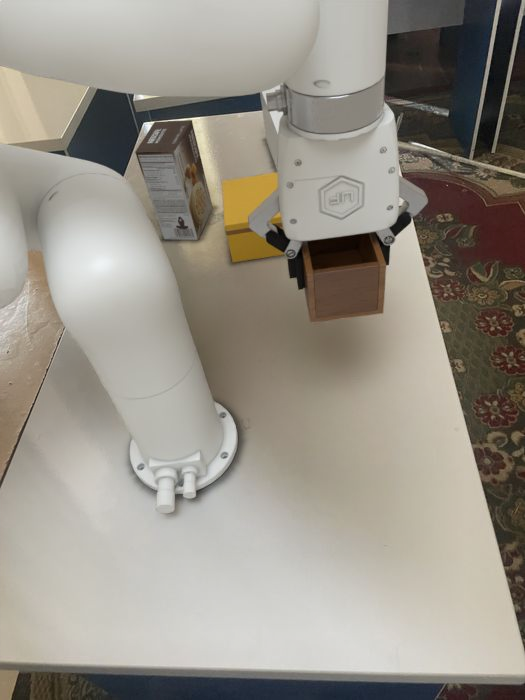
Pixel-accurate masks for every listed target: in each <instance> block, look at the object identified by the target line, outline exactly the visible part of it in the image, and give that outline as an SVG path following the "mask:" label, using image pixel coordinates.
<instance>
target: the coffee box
mask: <svg viewBox="0 0 525 700" xmlns="http://www.w3.org/2000/svg"><path fill="white" fill-rule="evenodd" d="M134 153H135V156H136V159H137V162H138V165H139V168H140V171H141V174H142V177H143V180H144V184H145V187H146V189H147V192H148V195H149V198H150V201H151V204H152V207H153V210H154V214H155V216H156V220H157V222H158V225H159V229H160V231H161V232H160V233H161V235H162V238H163V239H164V240H170V241H171V240H172V241H175V240H176V241H198V240H200V237H201V236H202V233H203V231H204V229H205V226H206V225H207V222H208V220H209V217H210V215H211V212H212V211H213V208H214V207H213V204H212V199H211V195H210V194H211V193H210V191H209V187H208V182H207V177H206V173H205V170H204V169H205V168H204V165H203V161H202V157H201V152H200V149H199V144H198V140H197V136H196V132H195V128H194V124H193V120H192V119H187V120H186V119H185V120H167V121H154V122H153V123H152V125H151V126H150V128H149V130H148V131H147V133H146V135H144V138H143V139H142V141H141V143H139V145H138V147H137V148H136V150H135V152H134Z"/></svg>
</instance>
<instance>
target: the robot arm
mask: <svg viewBox="0 0 525 700" xmlns="http://www.w3.org/2000/svg"><path fill="white" fill-rule="evenodd" d="M388 18H389V0H0V67H3V68H7V69H10V70H13V71H17V72H20V73H23V74H26V75H31V76H33V77H39V78H44V79H50V80H55V81H59V82H60V81H61V82H65V83H71V84H75V85H80V86H85V87H90V88H93V89H99V90H104V91H109V92H114V93H120V94H121V93H122V94H130V95H137V96H149V97H167V98H168V97H169V98H171V97H172V98H173V97H177V98H178V97H181V98H183V97H184V98H185V97H187V98H190V97H191V98H194V97H196V98H197V97H199V98H200V97H201V98H202V97H205V98H209V97H210V98H213V97H217V98H218V97H219V98H221V97H225V98H226V97H242V96H249V95H256V94H260V92H263V91H267V90H270V89H272V88H274V87H276V86H278V85H280V84H282V83H283V84H282V85H280V89H278V90H275V92H271V93H266V99H267V107H268V112H271V111H277V110H278V112H283V115H282V117H281V119H280V122H279V130H278V141H277V143H278V145H277V169H276V172H277V182H278V188H277V189H276V190H275V191H274V192H273V193H272V194H271V195H270V196H268V197H267V198H266V199H265V200H264V201H263V202H262V203H261V204H260V205H259V206H258V207H257V208H256V209H255V210H254V211H253V212H252V213H251V214H250V215H249V216H248V225H249V228H250V229H251V230H252V231H254V232H255V233H256V234H258V235H259V236H261V237H263V238H264V239H266V241H267V243H268V244H270V245H272V246H273V247H275V248H277V249H278V250H280V251H281V252H283V253H284V255H283V256H284V258H286V261H287V269H288V277H289V279H296V284H297V290H298V291H302V290H304V288H305V280H304V267H303V257H302V252H301V246H302V244H303V242H304V241H312V240H320V239H328V238H335V237H343V236H350V235H357V234H364V233H371V232H375V233H376V236H377V239H378V242H379V245H380V248H381V251H382V254H383V257H384V260H385V263H386V267H388V266H390V257H391V256H390V255H391V246H392V245H393V244H394V243H395V242H396V237H397V236H398V235H399V234H400V233H402V232H403V230H405V229H406V228H407V227H409V225H410V224H411V223H412V219H413V218H414V217H416V216H417V215H418V214H419V213H420V212H421V211H422V210H423V209H424V208H425V207H426V206H427V204H428V203H429V199H428V197H427V195H426V192H425V191H424V190H423V189H422V188H420V187H418V186H417V185H415V184H414V183H412V182H410V181H409V180H407V179H406V178H404V177H403V176H401V175H400V159H399V158H400V157H399V141H398V132H397V131H398V129H397V123H396V118H395V114H394V113H395V112H393V110H392V109H391V107H390V106H389V105H388V104H387V103H386V102H385V92H386V91H385V90H386V89H385V87H386V67H387V64H386V63H387V42H388V22H389V21H388V20H389V19H388ZM400 199H402V200H403V202H402V204H401V205H400ZM278 212H280V215H281V221H282V226H283V229H284V230H283V229H282V228H280V227H278V226H277V225H275V224H271V223H270V220H271V219H272V218H273V217H274V216H275V215H276V214H277V213H278ZM29 251H35V252H41V256H42V257H41V258H42V261H43V262H42V263H43V266H44V269H45V270H44V272H45V277H46V280H47V281H46V282H47V285H48V288H49V289H48V290H49V292H50V296H51V300H52V302H53V305H54V308H55V310H56V313H57V314H58V317H59V319H60V320H61V322H62V324H63V326H64V328H65V329H66V331H67V333H69V335H70V336H71V337H72V338H73V340H74V341H75V342H76V343H77V345H78V347H79V348H80V349H81V350H82V352H83V353H84V355H85V357H86V359H88V362H89V364H90V365H91V366H92V368H93V370H94V371H95V374H96V376H97V377H98V379H99V380H100V383H101V384H102V386H103V387H104V389H105V391H106V392H107V394H108V396H109V398H110V400H111V402H112V404H113V405H114V407H115V409H116V411H117V412H118V414H119V416H120V418H121V420H122V422H123V423H124V425H125V427H126V429H127V430H128V432H129V434H130V436H131V439H130V444H129V460H130V463H131V466H132V469H133V471H134V472H135V474H136V476H137V477H138V478H139V480H141V482H142V483H143V484H144V485H146V486H147V487H149V488H150V489H152V490H154V491H157V492H156V499H155V511H156V512H157V513H159V514H171V513H173V512H174V511H175V507H176V495H182V497H183V498H184V499H190V500H191V499H194V498H196V497H197V491H199V490H201V489H204V488H205V487H208V486H209V485H211V484H213V483H214V482H215V481H216V480H218V479H219V478H220V477H221V476H223V474H224V473H225V472H226V471H227V470H228V468H229V467H230V465H231V464H232V462H233V461H234V458H235V456H236V453H237V449H238V445H239V444H238V443H239V436H238V429H237V425H236V423H235V420H234V418H233V416H232V415H231V414H230V412H229V411H228V410H227V409H226V408H225V407H224V406H223V405H222V404H220V403H218V402H216V401H215V400H214V397H213V395H212V392H211V390H210V386H209V383H208V380H207V377H206V374H205V371H204V368H203V365H202V362H201V359H200V356H199V355H200V354H199V352H198V350H197V346H196V343H195V341H194V339H193V335H192V332H191V330H190V327H189V323H188V319H187V317H186V313H185V310H184V307H183V301H182V297H181V293H180V288H179V284H178V281H177V278H176V275H175V272H174V269H173V266H172V265H171V262H170V258H169V257H168V255H167V253H166V250H165V247H164V246H163V244H162V241H161V239H160V237H159V235H158V233H157V231H156V229H155V226H154V225H153V223H152V221H151V220H150V217H149V216H148V213H147V210H146V209H145V207H144V204H143V202H142V200H141V198H140V196H139V194H138V193H137V191H136V190H135V188H134V187H133V185H132V184H131V183H130V182H129V181H128V180H127V178H125V177H124V176H123V175H122V174H120V173H119V172H117V171H115V170H114V169H112V168H110V167H108V166H106V165H103V164H100V163H97V162H94V161H90V160H86V159H82V158H77V157H72V156H68V155H63V154H58V153H52V152H47V151H42V150H38V149H32V148H28V147H22V146H18V145H13V144H7V143H3V142H0V310H2V309H4V308H6V307H8V306H9V305H11V304H12V303H14V302H16V300H17V299H18V298H19V296H20V295H21V294H22V292H23V290H24V288H25V285H26V282H27V279H28V274H29Z"/></svg>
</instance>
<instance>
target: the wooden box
mask: <svg viewBox="0 0 525 700" xmlns="http://www.w3.org/2000/svg"><path fill="white" fill-rule="evenodd" d="M301 252H302V257H303V267H304V280H305V288H304V289H303V290H304V295H305V300H306V306H307V312H308V317H309V322H310V323H311V324H313V323H319V322H327V321H335V320H336V321H337V320H342V319H349V318H358V317H365V316H372V315H380V314H384V308H385V291H386V290H385V289H386V277H387V276H386V274H387V266H386V263H385V260H384V257H383V254H382V251H381V248H380V245H379V242H378V239H377V236H376V233H375V232H371V233H364V234H357V235H350V236H343V237H335V238H328V239H320V240H312V241H304V242H303V244H302V246H301Z"/></svg>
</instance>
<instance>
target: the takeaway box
mask: <svg viewBox="0 0 525 700" xmlns="http://www.w3.org/2000/svg"><path fill="white" fill-rule="evenodd" d="M221 185H222V203H223V204H222V205H223V206H222V207H223V223H224V224H223V225H224V229H225V230H224V231H225V235H226V239H227V243H228V247H229V252H230V257H231V262H232V263H238V262H246V261H252V260H258V259H265V258H270V257H278V256H285V255H284V253H283V252H281V251H280V250H278V249H277V248H275V247H273V246H272V245H270V244H268V243H267V241H266V239H264V238H263V237H261V236H259V235H258V234H256V233H255V232H254V231H252V230H251V229H250V228H249V225H248V216H249V215H250V214H251V213H252V212H253V211H254V210H255V209H256V208H257V207H258V206H259V205H260V204H261V203H262V202H263V201H264V200H265V199H266V198H267V197H268V196H270V195H271V194H272V193H273V192H274V191H275V190H276V189H277V188H278V182H277V171H276V172H270V173H263V174H258V175H250V176H244V177H238V178H233V179H227V180H222V181H221ZM270 223H271V224H275V225H277V226H278V227H280V228H282V229H283V226H282V221H281V215H280V212H278V213H277V214H276V215H275V216H274V217H273V218H272V219H271V220H270ZM283 230H284V229H283Z"/></svg>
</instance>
